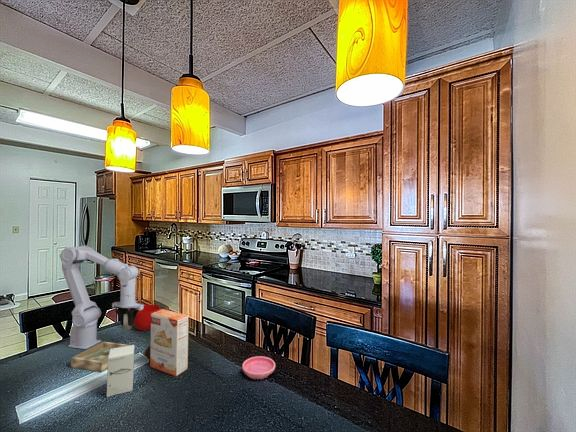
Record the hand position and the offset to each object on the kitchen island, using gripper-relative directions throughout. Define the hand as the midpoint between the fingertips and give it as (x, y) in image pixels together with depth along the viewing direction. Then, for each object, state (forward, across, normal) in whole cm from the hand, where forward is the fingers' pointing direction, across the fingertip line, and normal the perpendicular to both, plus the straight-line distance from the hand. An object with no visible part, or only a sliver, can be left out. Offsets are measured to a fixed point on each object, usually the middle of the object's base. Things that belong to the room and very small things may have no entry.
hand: (127, 324), depth 119 cm
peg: (+2, 0, 0) cm, 2 cm away
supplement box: (+10, -21, +25) cm, 34 cm away
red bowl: (+10, +4, -18) cm, 21 cm away
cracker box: (+10, -29, +12) cm, 33 cm away
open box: (+9, 0, +12) cm, 15 cm away
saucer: (+10, -63, +6) cm, 64 cm away
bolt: (+10, -16, 0) cm, 19 cm away
